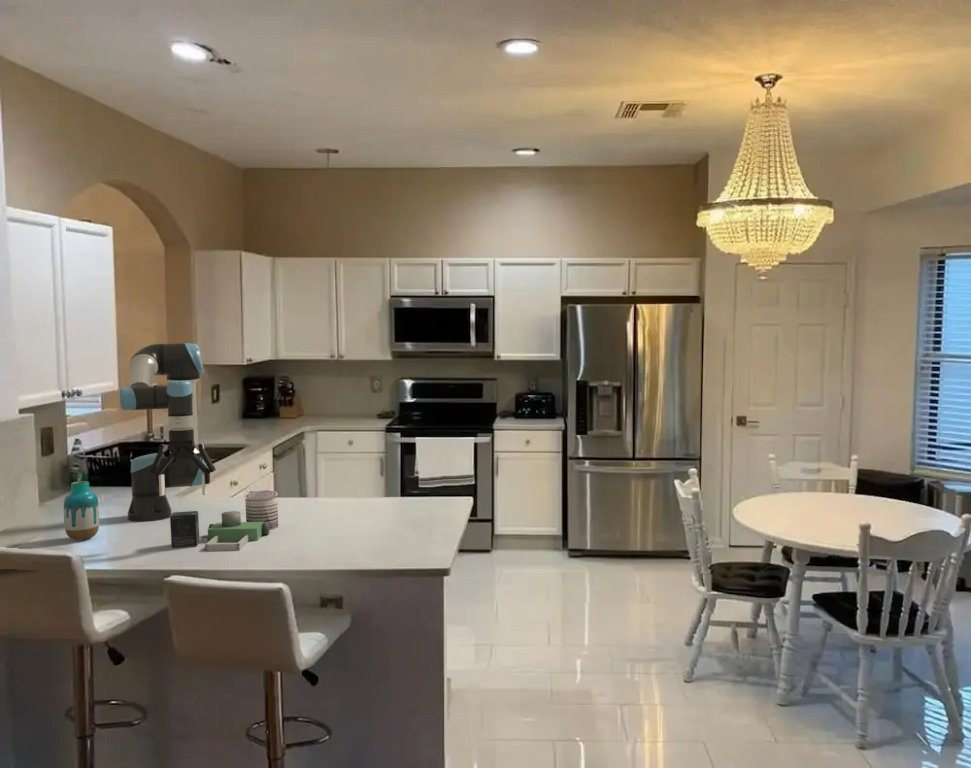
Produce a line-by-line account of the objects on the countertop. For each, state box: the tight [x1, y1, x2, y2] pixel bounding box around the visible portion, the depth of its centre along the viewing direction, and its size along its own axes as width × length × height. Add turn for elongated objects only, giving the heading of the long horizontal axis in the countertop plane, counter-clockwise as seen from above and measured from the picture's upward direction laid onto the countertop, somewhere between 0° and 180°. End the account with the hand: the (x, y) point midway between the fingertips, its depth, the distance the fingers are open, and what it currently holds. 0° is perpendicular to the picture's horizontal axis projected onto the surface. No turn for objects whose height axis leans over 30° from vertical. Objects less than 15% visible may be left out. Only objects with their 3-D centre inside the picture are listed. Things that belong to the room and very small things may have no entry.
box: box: [169, 510, 200, 549], centre depth 269 cm, size 8×6×11 cm
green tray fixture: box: [204, 510, 271, 552], centre depth 273 cm, size 19×22×8 cm
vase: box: [63, 481, 100, 541], centre depth 280 cm, size 11×11×19 cm
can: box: [244, 489, 279, 531], centre depth 293 cm, size 11×11×12 cm
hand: (183, 494), depth 269 cm, fingers open, 13 cm apart
